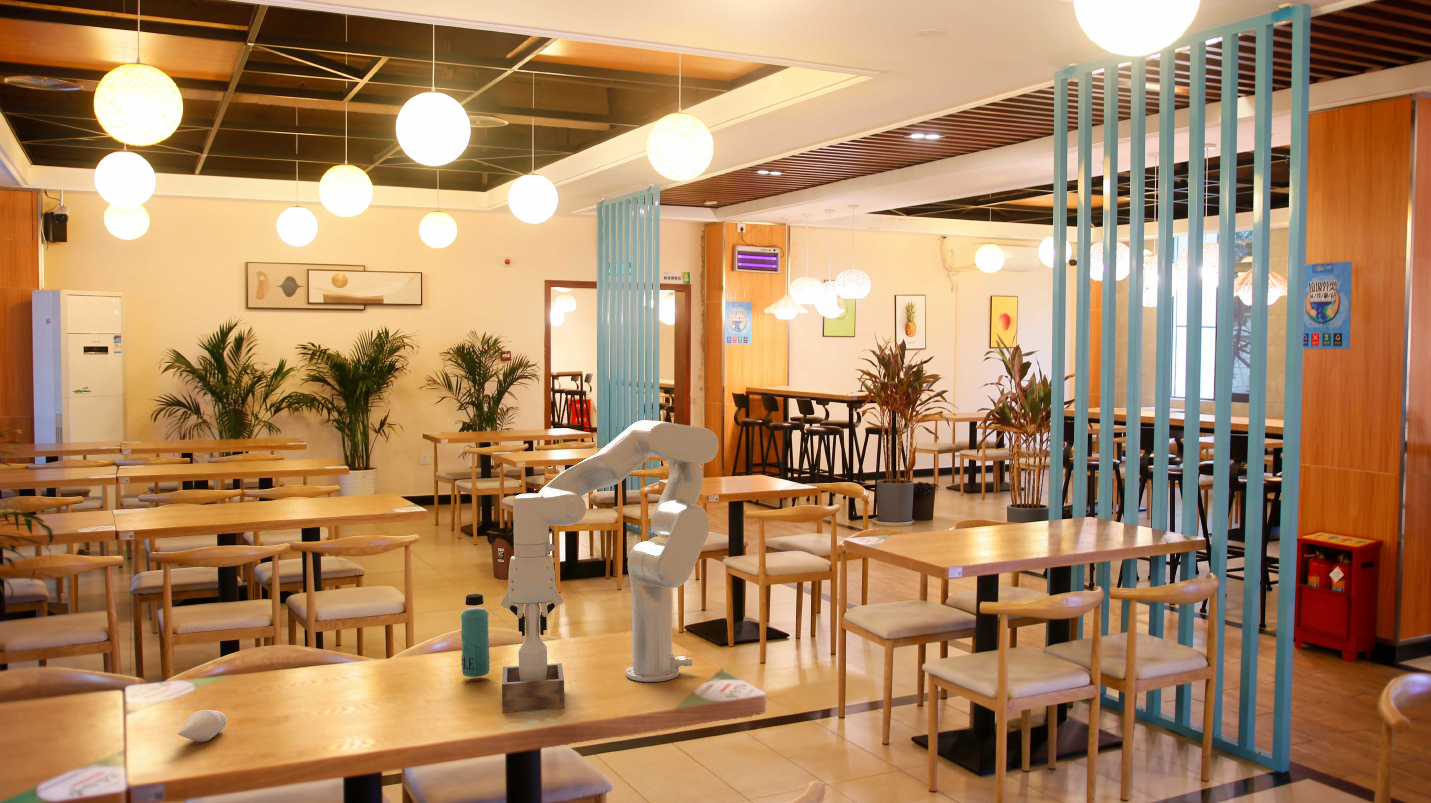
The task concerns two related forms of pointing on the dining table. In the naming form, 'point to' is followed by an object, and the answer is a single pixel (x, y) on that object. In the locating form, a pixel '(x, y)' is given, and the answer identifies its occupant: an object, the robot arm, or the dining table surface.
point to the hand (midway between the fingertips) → (532, 633)
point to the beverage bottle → (475, 638)
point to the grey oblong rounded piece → (203, 725)
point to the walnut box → (532, 690)
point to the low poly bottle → (532, 648)
